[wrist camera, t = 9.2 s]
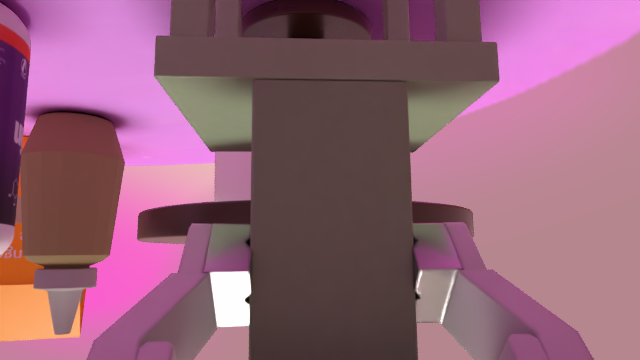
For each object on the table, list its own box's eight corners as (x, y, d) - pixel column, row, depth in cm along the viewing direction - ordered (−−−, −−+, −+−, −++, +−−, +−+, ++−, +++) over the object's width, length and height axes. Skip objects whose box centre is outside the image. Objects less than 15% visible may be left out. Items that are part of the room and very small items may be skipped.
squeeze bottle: (-1, 108, 39) (-24, 341, 36) (93, 103, 38) (77, 343, 35) (64, 133, 47) (50, 325, 44) (143, 129, 46) (134, 326, 43)
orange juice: (96, 155, 57) (84, 331, 54) (8, 149, 54) (-9, 336, 51) (90, 140, 50) (76, 343, 46) (-11, 133, 46) (-33, 350, 43)
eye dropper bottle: (271, 127, 46) (270, 256, 44) (211, 121, 43) (208, 257, 41) (288, 115, 42) (288, 256, 40) (223, 107, 39) (220, 257, 37)
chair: (164, -177, 12) (137, 433, 10) (483, -162, 12) (523, 421, 10) (214, -4, 20) (204, 353, 18) (407, 0, 20) (421, 348, 18)
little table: (94, -74, 18) (72, 235, 16) (520, -60, 19) (544, 231, 17) (186, 81, 33) (180, 245, 32) (414, 84, 34) (421, 243, 33)
